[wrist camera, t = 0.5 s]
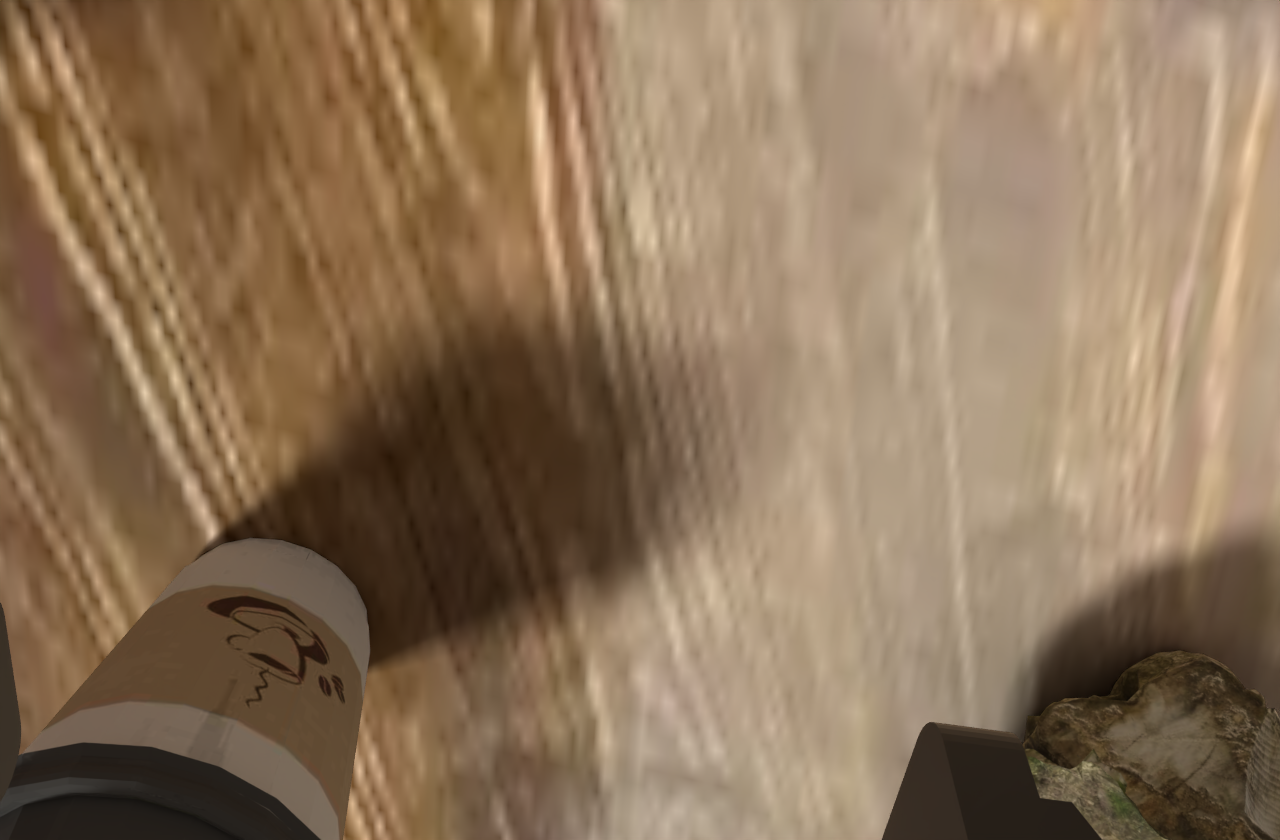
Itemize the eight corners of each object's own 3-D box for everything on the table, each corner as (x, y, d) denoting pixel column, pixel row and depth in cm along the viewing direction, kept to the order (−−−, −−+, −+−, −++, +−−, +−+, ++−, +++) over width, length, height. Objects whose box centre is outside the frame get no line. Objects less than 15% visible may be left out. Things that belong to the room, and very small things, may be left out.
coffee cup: (480, 574, 44) (395, 928, 31) (352, 770, 49) (234, 1146, 36) (181, 432, 42) (-47, 753, 29) (78, 654, 47) (-156, 1013, 34)
